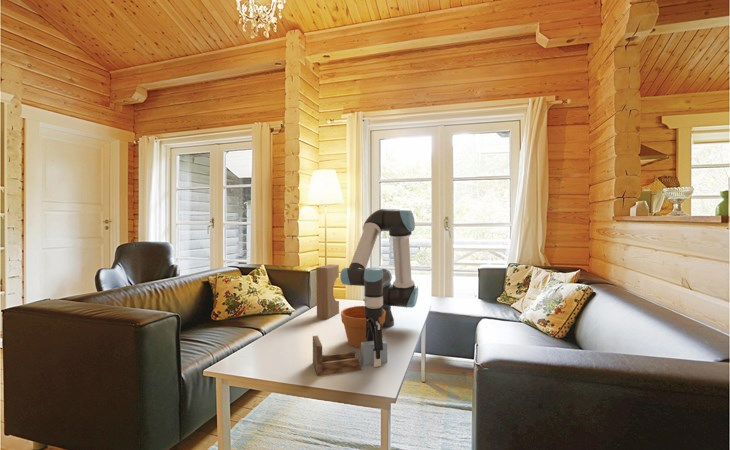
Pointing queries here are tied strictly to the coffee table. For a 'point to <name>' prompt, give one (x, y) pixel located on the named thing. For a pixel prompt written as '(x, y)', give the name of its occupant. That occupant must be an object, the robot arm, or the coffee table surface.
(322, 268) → the decorative block
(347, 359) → the track
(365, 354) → the blue-gray rectangular block
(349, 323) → the flower pot
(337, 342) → the coffee table surface
